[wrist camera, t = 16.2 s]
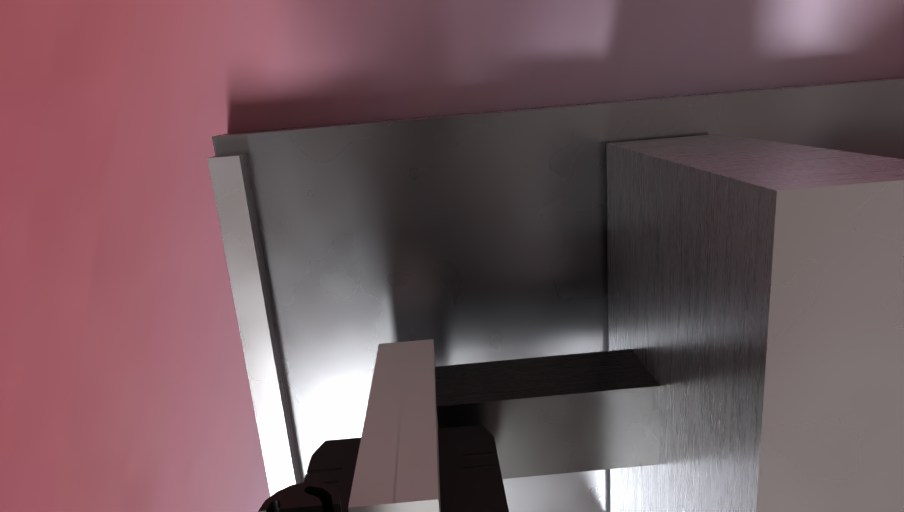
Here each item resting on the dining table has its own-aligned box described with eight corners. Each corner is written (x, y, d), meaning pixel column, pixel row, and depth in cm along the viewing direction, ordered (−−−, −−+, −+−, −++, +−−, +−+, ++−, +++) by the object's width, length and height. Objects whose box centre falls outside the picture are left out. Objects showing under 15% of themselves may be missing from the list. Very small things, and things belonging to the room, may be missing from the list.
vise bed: (227, 133, 17) (2, 178, 8) (1267, 46, 17) (2152, -3, 8) (299, 548, 20) (202, 895, 12) (1154, 467, 21) (1687, 740, 12)
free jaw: (417, 159, 16) (407, 223, 8) (718, 133, 16) (995, 171, 8) (453, 540, 19) (471, 850, 11) (704, 517, 19) (893, 806, 11)
